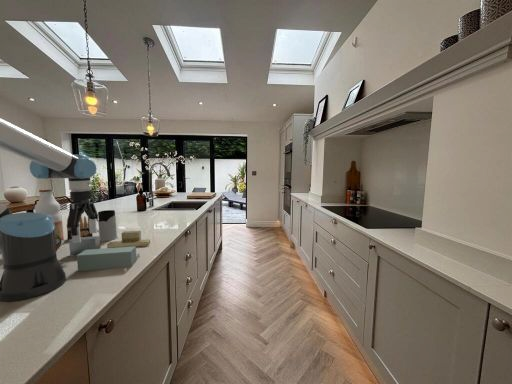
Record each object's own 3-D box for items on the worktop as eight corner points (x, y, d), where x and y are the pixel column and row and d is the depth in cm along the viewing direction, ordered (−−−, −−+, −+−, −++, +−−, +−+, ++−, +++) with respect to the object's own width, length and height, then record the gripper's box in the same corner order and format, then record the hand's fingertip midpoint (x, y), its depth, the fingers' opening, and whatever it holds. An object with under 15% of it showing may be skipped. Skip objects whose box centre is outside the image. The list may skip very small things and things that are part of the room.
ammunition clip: (92, 236, 124) (91, 215, 123) (92, 236, 123) (90, 215, 122) (68, 239, 119) (66, 217, 117) (67, 240, 117) (65, 218, 116)
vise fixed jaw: (131, 266, 84) (130, 251, 84) (78, 271, 81) (76, 255, 80) (139, 256, 94) (138, 243, 94) (92, 260, 90) (90, 246, 90)
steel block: (96, 253, 98) (95, 238, 97) (70, 255, 96) (68, 240, 95) (100, 250, 102) (99, 236, 101) (75, 252, 99) (74, 237, 99)
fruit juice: (55, 248, 105) (49, 189, 102) (32, 249, 103) (26, 190, 100) (68, 242, 114) (63, 188, 111) (48, 243, 112) (42, 188, 110)
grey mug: (110, 241, 115) (109, 213, 114) (84, 241, 115) (82, 213, 114) (121, 236, 124) (119, 209, 122) (96, 236, 124) (94, 209, 123)
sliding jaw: (148, 245, 108) (147, 233, 107) (107, 248, 104) (106, 236, 103) (151, 241, 115) (151, 230, 114) (113, 243, 111) (112, 232, 110)
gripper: (73, 193, 84) (79, 246, 87) (103, 187, 109) (107, 229, 111) (50, 194, 83) (57, 248, 85) (86, 187, 107) (90, 230, 110)
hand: (85, 237), depth 98 cm, fingers open, 13 cm apart
